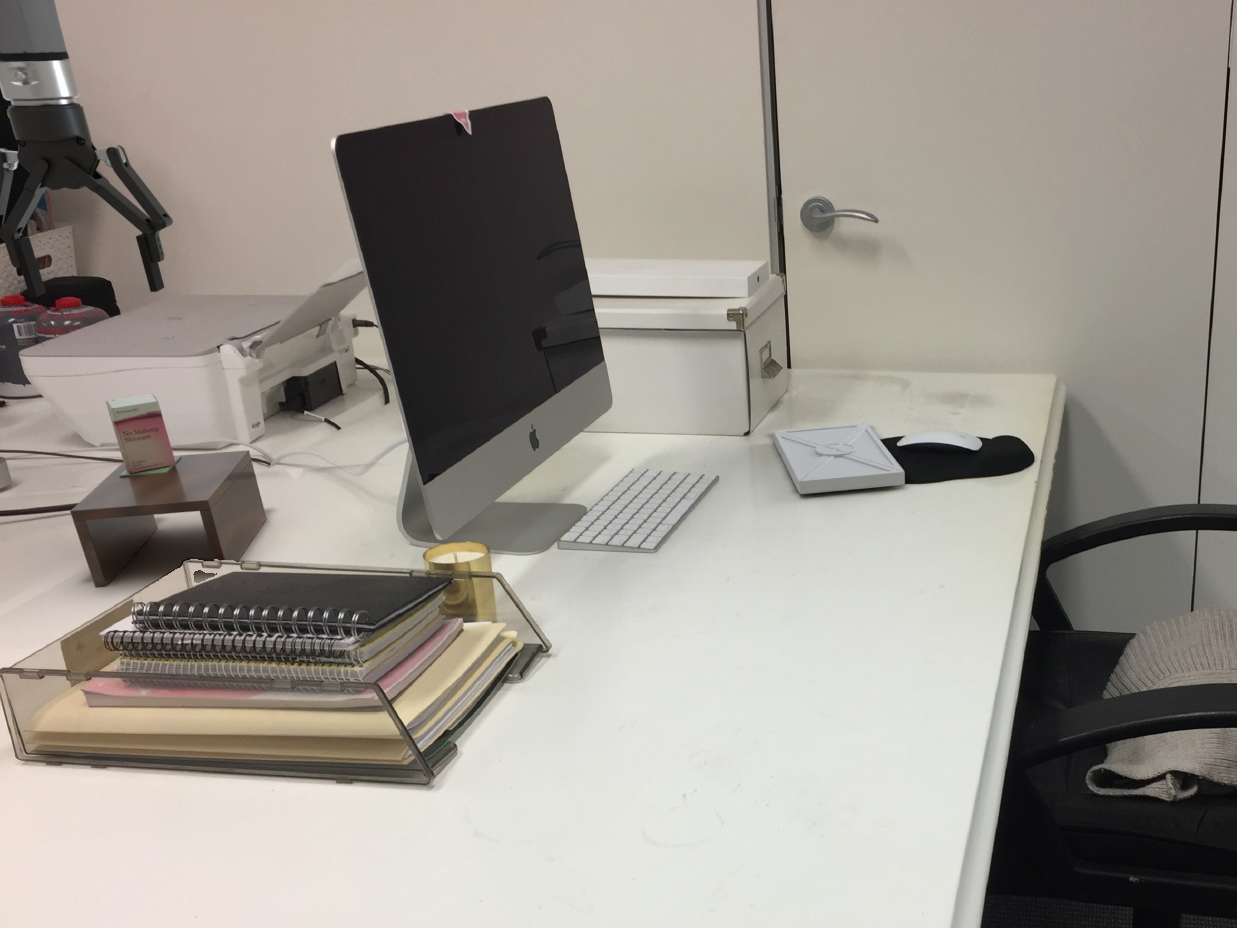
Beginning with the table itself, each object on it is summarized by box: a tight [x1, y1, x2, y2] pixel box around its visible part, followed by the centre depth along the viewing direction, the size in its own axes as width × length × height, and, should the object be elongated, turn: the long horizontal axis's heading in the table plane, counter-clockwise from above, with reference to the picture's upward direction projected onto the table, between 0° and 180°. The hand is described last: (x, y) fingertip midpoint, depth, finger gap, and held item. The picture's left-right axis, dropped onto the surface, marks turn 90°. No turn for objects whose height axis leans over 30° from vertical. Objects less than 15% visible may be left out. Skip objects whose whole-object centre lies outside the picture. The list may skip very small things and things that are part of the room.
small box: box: [105, 393, 176, 473], centre depth 144 cm, size 5×4×8 cm
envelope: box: [772, 422, 906, 495], centre depth 168 cm, size 24×2×14 cm
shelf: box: [69, 449, 268, 588], centre depth 144 cm, size 14×18×9 cm
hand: (98, 292), depth 150 cm, fingers open, 13 cm apart
